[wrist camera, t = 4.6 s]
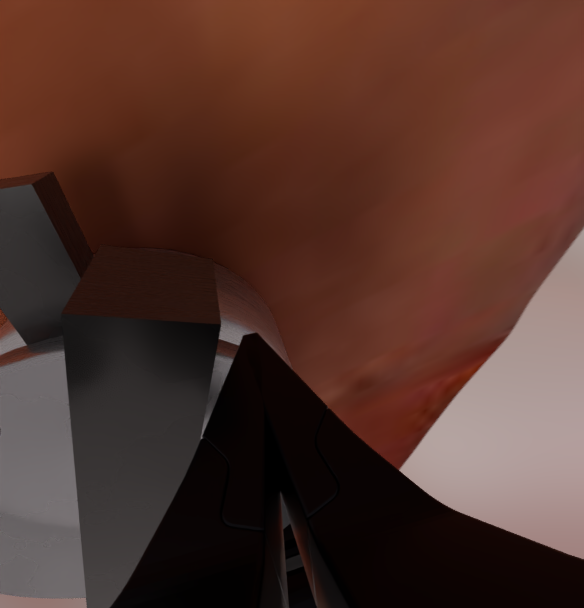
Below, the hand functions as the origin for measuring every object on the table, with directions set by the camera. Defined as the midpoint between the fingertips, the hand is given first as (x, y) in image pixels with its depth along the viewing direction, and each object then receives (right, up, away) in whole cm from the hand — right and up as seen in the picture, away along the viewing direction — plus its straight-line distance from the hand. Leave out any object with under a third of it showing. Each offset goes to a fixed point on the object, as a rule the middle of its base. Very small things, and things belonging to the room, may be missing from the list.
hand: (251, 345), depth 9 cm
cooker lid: (-5, -5, +5) cm, 8 cm away
